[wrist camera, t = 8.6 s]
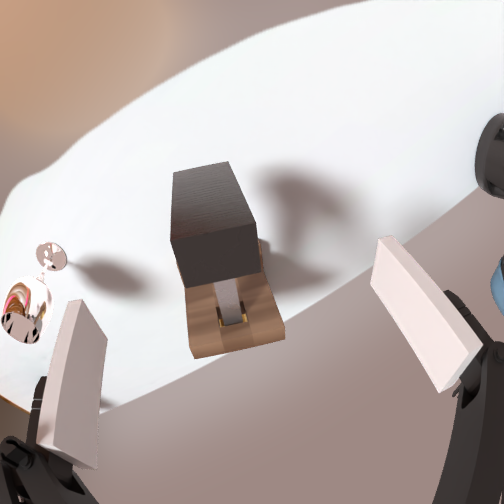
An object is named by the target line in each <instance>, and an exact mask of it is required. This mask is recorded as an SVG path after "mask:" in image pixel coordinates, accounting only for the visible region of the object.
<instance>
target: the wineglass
mask: <svg viewBox="0 0 504 504" xmlns="http://www.w3.org/2000/svg"><path fill="white" fill-rule="evenodd" d="M36 257H37V260H38V262H39V263H40V264H41V265H42V266H43V267H44V268H43V270H42V272H41V273H40V274H39V275H38V276H37V278H36V277H32V276H23V277H20V278H18V279H17V280H16V281H14V282H13V284H12V285H11V286H10V288H9V290H8V292H7V294H6V297H5V300H4V304H3V309H2V316H1V323H2V326H3V328H4V329H5V331H6V332H7V333H8V334H9V335H10V336H11V337H13V338H14V339H16V340H18V341H20V342H22V343H26V344H34V343H36V342H38V341H39V339H40V338H41V336H42V335H43V333H44V332H45V330H46V328H47V326H48V324H49V322H50V320H51V317H52V314H53V309H54V300H53V296H52V293H51V291H50V289H49V288H48V286H47V285H46V284H45V283H44V275H45V272H46V270H47V269H48V270H50V271H59V270H61V269H62V268H63V267H64V266H65V264H66V256H65V253H64V251H63V250H62V249H61V248H60V247H59V246H58V245H56V244H55V243H52V242H43V243H41V244H39V246H38V247H37V249H36Z"/></svg>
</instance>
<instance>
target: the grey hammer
mask: <svg viewBox="0 0 504 504" xmlns="http://www.w3.org/2000/svg"><path fill="white" fill-rule="evenodd" d="M170 242H171V245H172V248H173V251H174V254H175V258H176V261H177V264H178V267H179V270H180V273H181V276H182V279H183V282H184V285H185V288H191V287H196V286H201V285H205V284H210V283H213V284H214V287H215V291H216V295H217V299H218V303H219V307H220V310H221V314H222V318H223V322H224V325H225V326H229V325H234V324H239V323H243V319H242V313H241V308H240V303H239V298H238V293H237V288H236V283H235V278H238V277H242V276H247V275H251V274H256V273H260V272H261V263H260V254H259V245H258V236H257V228H256V222H255V220H254V217H253V215H252V213H251V211H250V208H249V206H248V204H247V202H246V200H245V197H244V195H243V193H242V191H241V189H240V186H239V184H238V182H237V180H236V178H235V175H234V173H233V171H232V169H231V167H230V164H229V162H228V161H227V162H222V163H217V164H212V165H207V166H202V167H197V168H192V169H187V170H183V171H178V172H174V173H173V187H172V206H171V234H170Z"/></svg>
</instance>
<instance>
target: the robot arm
mask: <svg viewBox="0 0 504 504" xmlns="http://www.w3.org/2000/svg"><path fill="white" fill-rule="evenodd" d="M475 173H476V179H477V182H478V184H479V186H480V187H481V189H483V190H484V191H486V192H487V193H488V194H490V195H492V196H494V197H498V198H502V199H504V113H500V114H497V115H495V116H494V117H493V118H492V119H491V120H490V121H489V122H488V124H487V125H486V127H485V129H484V131H483V133H482V135H481V138H480V140H479V144H478V148H477V152H476V160H475ZM370 285H371V286H372V288H373V289H374V291H375V292H376V293H377V295H378V296H379V298H380V299H381V301H382V302H383V304H384V305H385V307H386V308H387V310H388V311H389V313H390V314H391V316H392V317H393V319H394V320H395V322H396V323H397V325H398V327H399V328H400V329H401V331H402V333H403V334H404V336H405V337H406V339H407V341H408V342H409V344H410V345H411V347H412V349H413V350H414V352H415V353H416V355H417V357H418V358H419V360H420V362H421V363H422V365H423V367H424V368H425V370H426V372H427V373H428V375H429V377H430V378H431V380H432V382H433V384H434V385H435V387H436V389H437V391H438V392H439V393H440V392H442V391H444V390H446V389H447V388H449V387H451V386H452V385H454V383H455V382H456V381H457V380H458V378H460V380H461V382H462V383H461V384H460V385H459V386H458V387H457V389H456V390H455V391H454V392H453V395H452V397H455V395H456V394H457V393H458V392H459V395H458V397H457V398H458V402H457V408H456V415H455V420H454V425H453V430H452V435H451V440H450V445H449V449H448V453H447V457H446V461H445V465H444V468H443V472H442V475H441V479H440V482H439V485H438V488H437V491H436V494H435V497H434V500H433V503H432V504H499V500H500V496H501V492H502V500H501V504H504V343H503V342H499V341H495V342H494V341H493V340H492V339H491V338H490V336H489V335H488V334H487V332H486V331H485V330H484V328H483V327H482V326H481V324H480V323H479V322H478V320H477V319H476V318H475V317H474V315H473V314H471V312H470V310H469V309H468V308H467V307H465V304H464V303H463V302H462V300H461V299H460V298H459V297H458V296H457V295H455V294H454V293H452V292H451V291H449V290H446V291H444V292H442V291H441V289H440V288H439V287H438V286H437V285H436V283H435V282H434V281H433V280H432V279H431V278H430V276H429V275H428V274H427V273H426V272H425V271H424V269H423V268H422V267H421V266H420V265H419V264H418V263H417V262H416V261H415V259H414V258H413V257H412V256H411V255H410V254H409V253H408V252H407V251H406V250H405V249H404V247H403V246H402V245H401V244H400V243H399V242H398V241H397V240H396V239H395V238H394V237H393V236H387V237H383V238H378V244H377V250H376V256H375V262H374V267H373V273H372V278H371V283H370ZM491 292H492V295H493V298H494V300H495V303H496V304H497V306H498V308H499V310H500V311H501V313H502V314H503V316H504V256H503V257H502V258H501V259H500V261H499V265H498V267H497V269H496V270H495V272H494V274H493V276H492V278H491ZM107 341H108V339H107V337H106V336H105V334H104V333H103V331H102V330H101V328H100V327H99V325H98V324H97V322H96V321H95V319H94V317H93V316H92V314H91V313H90V311H89V309H88V308H87V306H86V304H85V303H84V301H83V299H79V300H74V301H68V304H67V307H66V310H65V313H64V316H63V320H62V323H61V326H60V329H59V333H58V336H57V340H56V344H55V347H54V351H53V355H52V359H51V363H50V367H49V371H48V376H43V377H41V378H40V380H39V382H38V384H37V386H36V388H35V392H34V397H33V399H34V401H33V402H32V410H31V413H30V419H29V425H28V432H27V439H26V444H25V443H24V442H22V441H21V440H19V439H17V438H16V437H14V436H8V437H6V438H4V440H3V441H2V442H1V444H0V504H99V503H98V502H97V501H96V499H95V498H94V497H93V496H92V494H91V493H90V492H89V490H88V489H87V488H86V486H85V485H84V484H83V482H82V481H81V479H80V478H79V476H78V475H77V474H76V473H75V472H74V471H73V470H72V466H73V465H75V466H77V467H79V468H81V469H93V470H97V445H98V424H99V409H100V397H101V387H102V378H103V369H104V362H105V354H106V347H107ZM17 495H18V496H20V497H21V502H19V499H18V496H17Z"/></svg>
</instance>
